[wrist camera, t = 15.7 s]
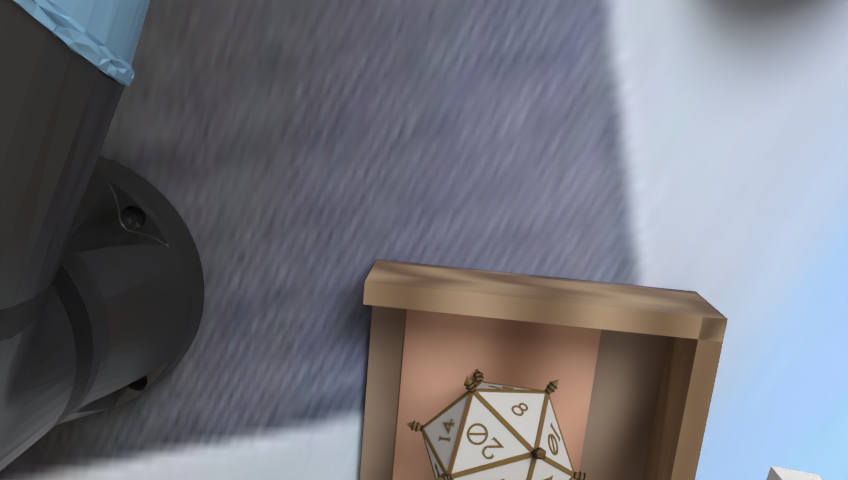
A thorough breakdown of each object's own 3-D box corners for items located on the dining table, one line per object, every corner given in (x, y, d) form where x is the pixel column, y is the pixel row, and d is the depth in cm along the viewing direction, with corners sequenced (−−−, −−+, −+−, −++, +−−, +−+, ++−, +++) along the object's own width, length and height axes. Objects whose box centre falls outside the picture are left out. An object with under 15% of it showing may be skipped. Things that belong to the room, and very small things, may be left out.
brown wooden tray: (358, 505, 41) (345, 555, 36) (376, 259, 37) (364, 281, 33) (648, 539, 40) (671, 594, 35) (695, 291, 36) (727, 318, 32)
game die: (460, 392, 42) (345, 437, 34) (551, 321, 37) (442, 355, 30) (537, 524, 39) (429, 606, 31) (647, 465, 34) (553, 544, 26)
